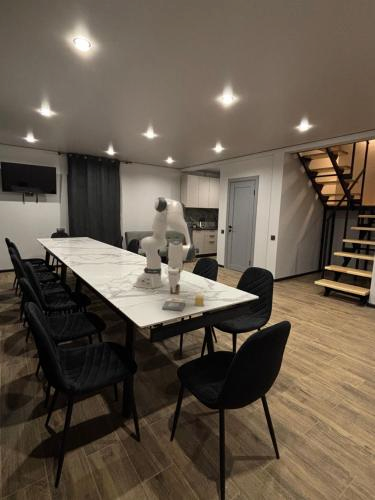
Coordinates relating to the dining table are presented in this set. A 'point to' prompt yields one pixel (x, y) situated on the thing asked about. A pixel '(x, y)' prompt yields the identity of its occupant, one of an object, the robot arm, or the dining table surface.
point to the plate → (173, 305)
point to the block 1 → (176, 290)
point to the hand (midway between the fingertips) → (174, 290)
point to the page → (175, 300)
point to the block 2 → (199, 300)
